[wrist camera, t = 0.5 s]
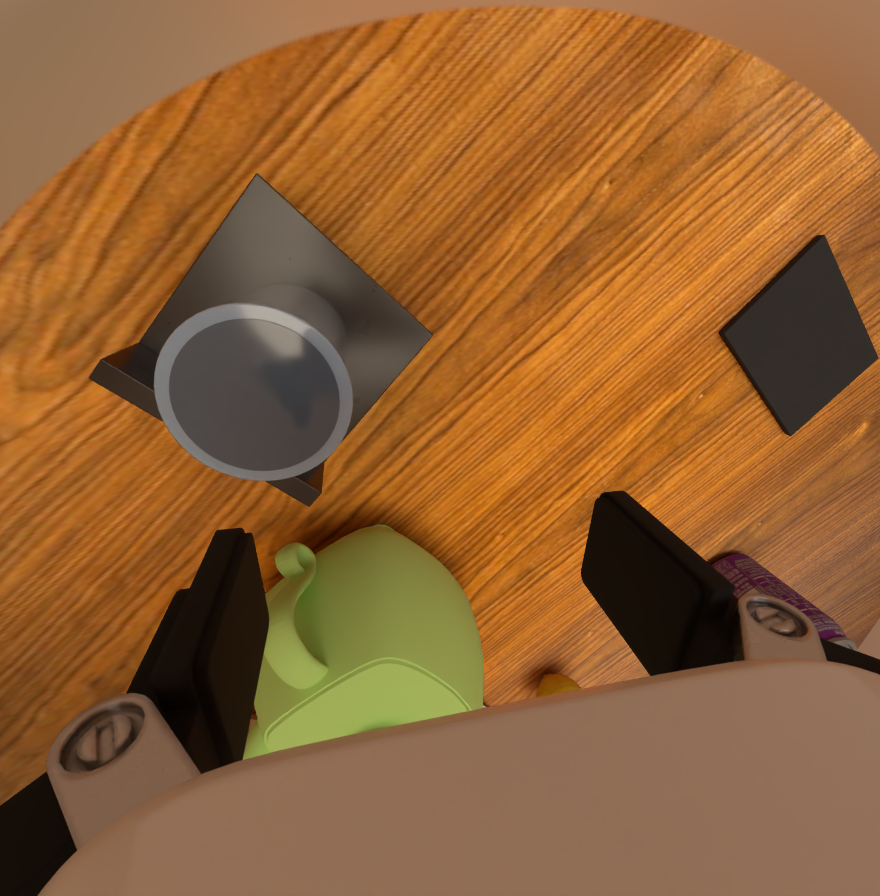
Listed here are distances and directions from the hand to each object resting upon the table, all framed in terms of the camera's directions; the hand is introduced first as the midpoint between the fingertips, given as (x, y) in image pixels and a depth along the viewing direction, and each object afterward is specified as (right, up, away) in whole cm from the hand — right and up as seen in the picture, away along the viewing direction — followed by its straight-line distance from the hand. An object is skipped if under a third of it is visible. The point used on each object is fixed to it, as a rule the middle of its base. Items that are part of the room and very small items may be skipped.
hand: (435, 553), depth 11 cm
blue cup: (-9, +9, +13) cm, 18 cm away
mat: (+32, +12, +26) cm, 43 cm away
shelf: (-10, +11, +17) cm, 22 cm away
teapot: (-8, -13, +29) cm, 32 cm away
